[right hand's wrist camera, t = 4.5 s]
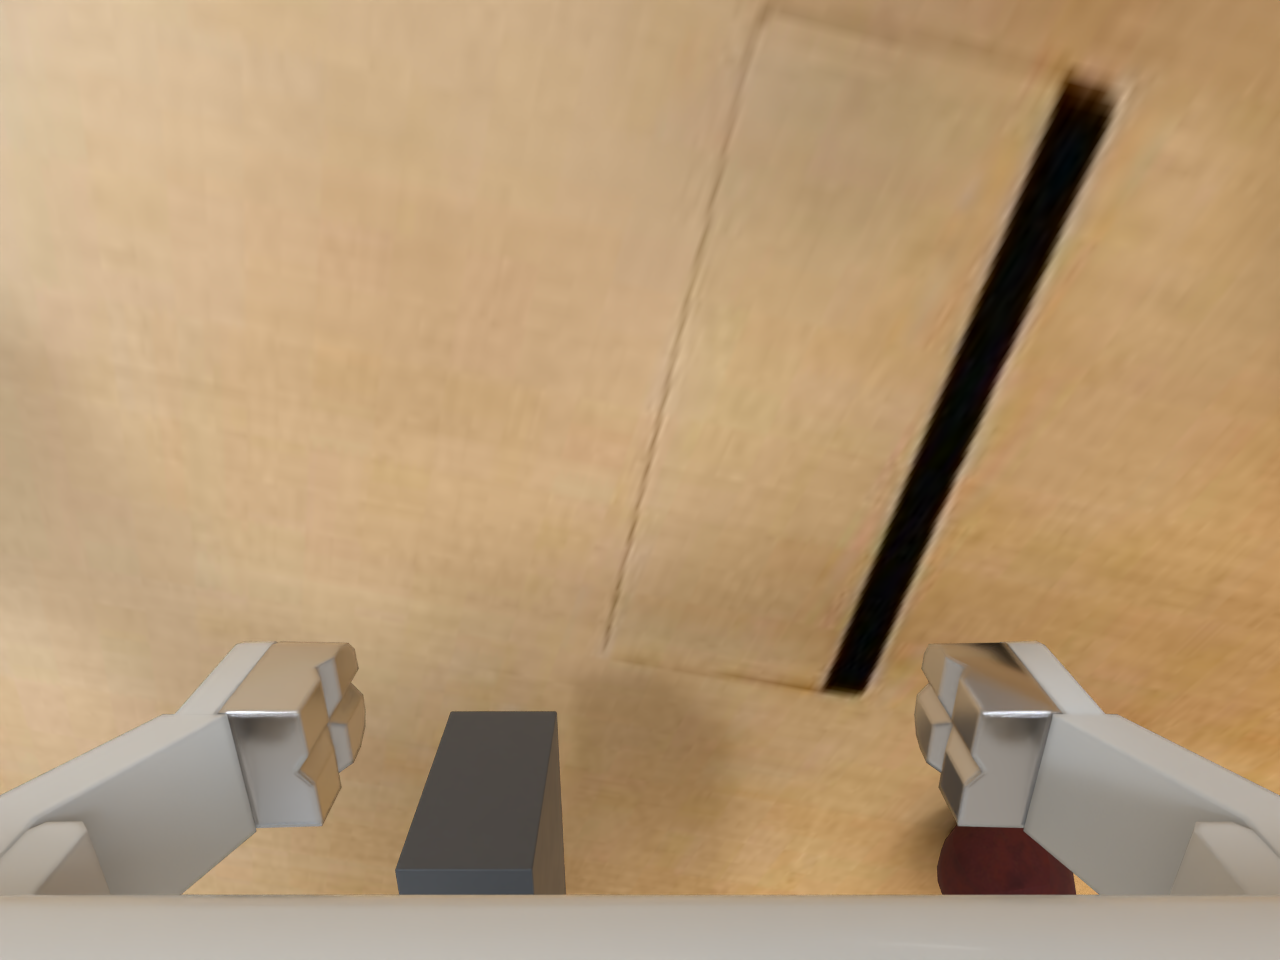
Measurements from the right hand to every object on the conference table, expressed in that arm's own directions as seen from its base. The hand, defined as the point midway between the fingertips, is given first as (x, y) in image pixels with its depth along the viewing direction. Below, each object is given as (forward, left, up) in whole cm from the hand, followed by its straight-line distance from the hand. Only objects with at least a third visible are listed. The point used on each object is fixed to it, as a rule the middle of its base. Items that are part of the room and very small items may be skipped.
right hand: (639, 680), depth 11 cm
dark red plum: (-12, +36, -26) cm, 46 cm away
